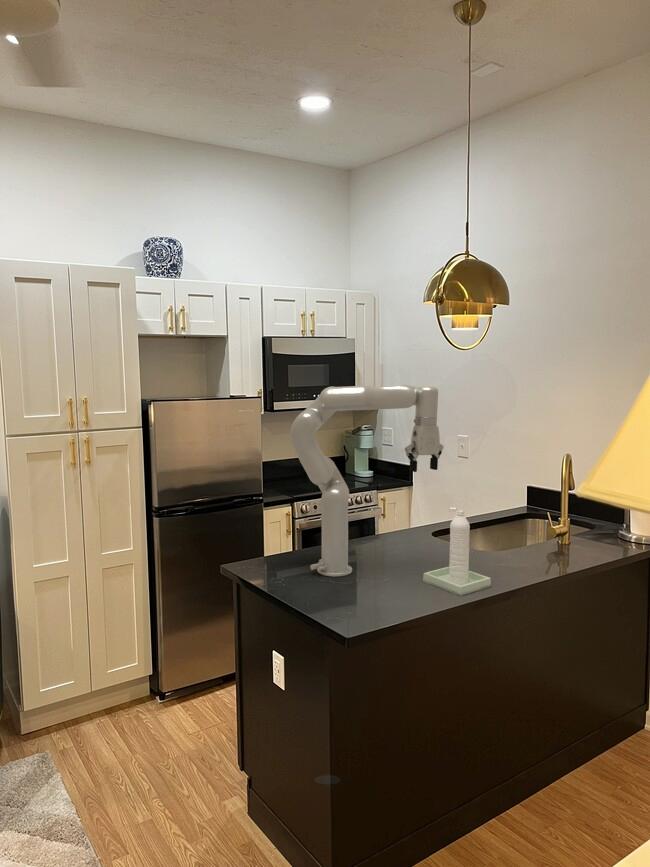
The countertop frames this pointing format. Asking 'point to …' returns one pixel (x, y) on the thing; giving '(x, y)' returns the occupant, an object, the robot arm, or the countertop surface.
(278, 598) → the countertop surface
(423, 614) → the countertop surface
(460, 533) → the water bottle
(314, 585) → the countertop surface
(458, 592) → the tray
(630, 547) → the countertop surface
